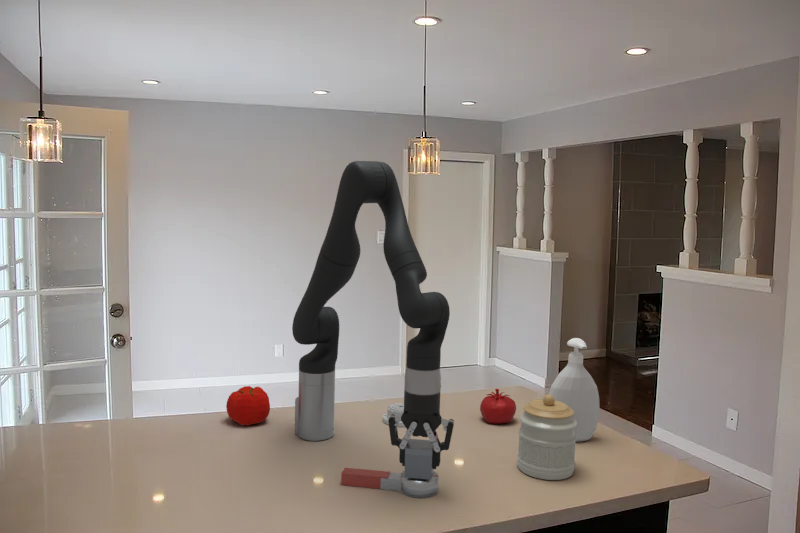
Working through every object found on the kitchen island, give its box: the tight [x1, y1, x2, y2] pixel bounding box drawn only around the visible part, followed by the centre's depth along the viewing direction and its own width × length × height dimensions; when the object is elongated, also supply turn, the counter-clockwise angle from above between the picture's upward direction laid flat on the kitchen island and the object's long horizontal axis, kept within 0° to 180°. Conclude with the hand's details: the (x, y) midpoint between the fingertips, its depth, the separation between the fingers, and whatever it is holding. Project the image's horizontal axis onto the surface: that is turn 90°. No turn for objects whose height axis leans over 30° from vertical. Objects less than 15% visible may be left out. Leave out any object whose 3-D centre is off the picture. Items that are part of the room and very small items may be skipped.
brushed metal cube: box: [404, 438, 435, 480], centre depth 132 cm, size 6×6×6 cm
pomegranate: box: [479, 388, 517, 425], centre depth 177 cm, size 10×10×9 cm
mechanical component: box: [382, 402, 406, 428], centre depth 175 cm, size 10×4×10 cm
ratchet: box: [340, 467, 440, 499], centre depth 133 cm, size 20×8×7 cm, turn 81°
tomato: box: [225, 385, 271, 426], centre depth 170 cm, size 11×12×9 cm
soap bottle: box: [548, 337, 601, 443], centre depth 163 cm, size 14×8×27 cm, turn 99°
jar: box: [516, 393, 577, 481], centre depth 144 cm, size 13×13×18 cm
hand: (419, 465), depth 132 cm, fingers open, 6 cm apart
